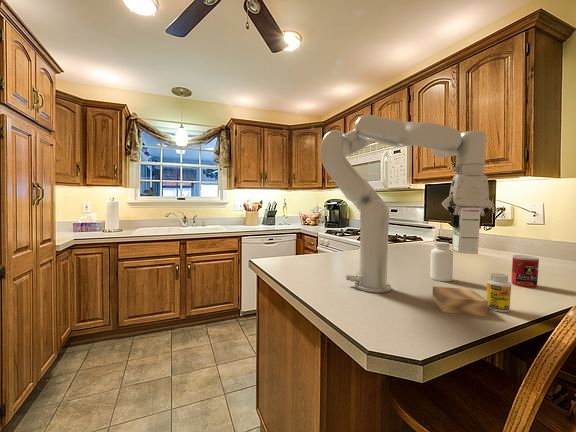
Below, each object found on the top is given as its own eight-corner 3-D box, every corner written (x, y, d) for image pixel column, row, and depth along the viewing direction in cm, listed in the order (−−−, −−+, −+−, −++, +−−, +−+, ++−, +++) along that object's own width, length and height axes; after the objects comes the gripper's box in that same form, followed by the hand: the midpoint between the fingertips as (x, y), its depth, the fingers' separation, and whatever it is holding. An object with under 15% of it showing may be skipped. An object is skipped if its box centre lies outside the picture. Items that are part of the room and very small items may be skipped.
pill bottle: (431, 275, 120) (433, 240, 119) (453, 278, 115) (454, 242, 114) (428, 279, 113) (429, 242, 112) (451, 283, 108) (452, 244, 108)
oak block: (442, 313, 79) (443, 297, 79) (432, 300, 90) (432, 286, 90) (487, 317, 77) (487, 301, 76) (470, 303, 87) (471, 289, 87)
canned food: (515, 286, 105) (517, 257, 105) (508, 281, 113) (509, 254, 112) (541, 289, 102) (543, 259, 102) (531, 283, 110) (533, 255, 109)
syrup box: (478, 254, 87) (482, 207, 86) (458, 253, 88) (461, 207, 87) (470, 251, 93) (473, 207, 92) (450, 250, 94) (453, 206, 93)
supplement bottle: (486, 310, 81) (488, 275, 81) (485, 304, 86) (486, 271, 85) (511, 314, 78) (513, 278, 78) (508, 308, 83) (510, 274, 82)
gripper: (447, 169, 86) (443, 227, 87) (506, 170, 85) (502, 230, 86) (436, 171, 94) (433, 225, 94) (490, 173, 92) (487, 227, 93)
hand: (465, 227), depth 90 cm, fingers closed on syrup box, 6 cm apart
